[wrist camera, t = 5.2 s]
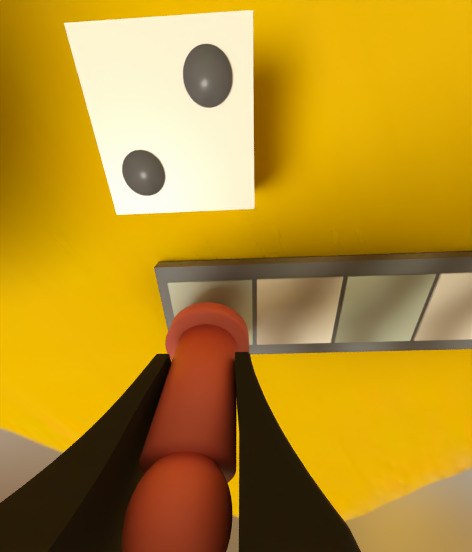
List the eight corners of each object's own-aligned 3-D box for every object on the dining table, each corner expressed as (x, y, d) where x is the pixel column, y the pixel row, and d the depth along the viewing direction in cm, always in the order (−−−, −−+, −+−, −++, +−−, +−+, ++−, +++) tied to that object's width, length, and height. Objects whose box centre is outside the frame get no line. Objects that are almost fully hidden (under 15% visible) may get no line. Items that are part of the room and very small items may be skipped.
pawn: (247, 301, 12) (269, 576, 4) (249, 362, 14) (264, 627, 6) (163, 303, 12) (19, 576, 4) (176, 364, 14) (97, 626, 6)
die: (246, 76, 10) (253, 8, 6) (248, 192, 13) (254, 209, 8) (138, 83, 10) (62, 22, 6) (159, 196, 13) (115, 215, 8)
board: (532, 248, 14) (552, 254, 13) (479, 339, 17) (493, 349, 16) (159, 261, 14) (153, 268, 13) (176, 347, 17) (173, 357, 17)
